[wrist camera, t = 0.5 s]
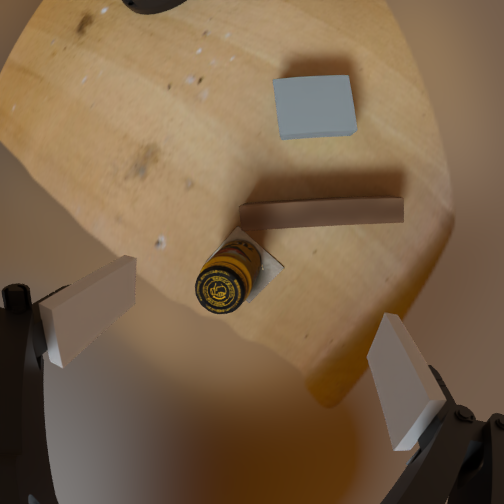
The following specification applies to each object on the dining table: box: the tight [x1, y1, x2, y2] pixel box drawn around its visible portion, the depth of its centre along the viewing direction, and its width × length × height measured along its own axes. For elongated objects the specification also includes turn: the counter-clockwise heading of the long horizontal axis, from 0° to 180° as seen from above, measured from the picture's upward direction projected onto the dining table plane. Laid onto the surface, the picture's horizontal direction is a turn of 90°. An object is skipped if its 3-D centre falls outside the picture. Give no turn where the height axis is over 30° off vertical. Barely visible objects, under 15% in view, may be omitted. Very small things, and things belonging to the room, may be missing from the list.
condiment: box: [195, 226, 284, 314], centre depth 35 cm, size 7×8×12 cm
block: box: [273, 75, 357, 140], centre depth 32 cm, size 7×9×5 cm
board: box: [239, 196, 404, 231], centre depth 36 cm, size 3×20×4 cm, turn 95°
